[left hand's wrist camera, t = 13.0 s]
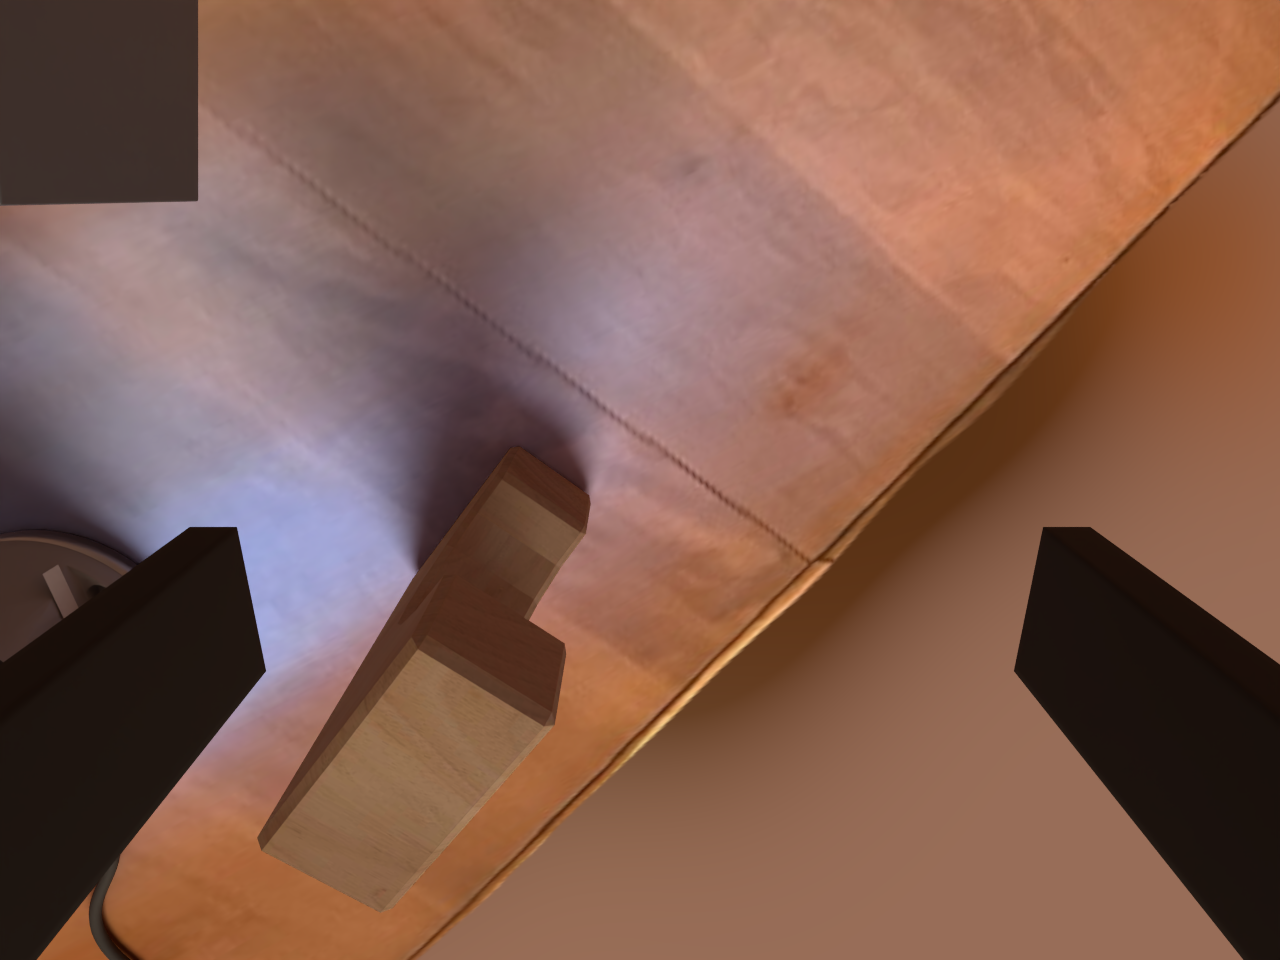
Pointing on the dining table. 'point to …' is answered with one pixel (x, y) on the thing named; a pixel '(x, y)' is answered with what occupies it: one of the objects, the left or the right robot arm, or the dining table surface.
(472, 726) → the decorative block
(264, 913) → the dining table surface
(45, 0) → the bar
